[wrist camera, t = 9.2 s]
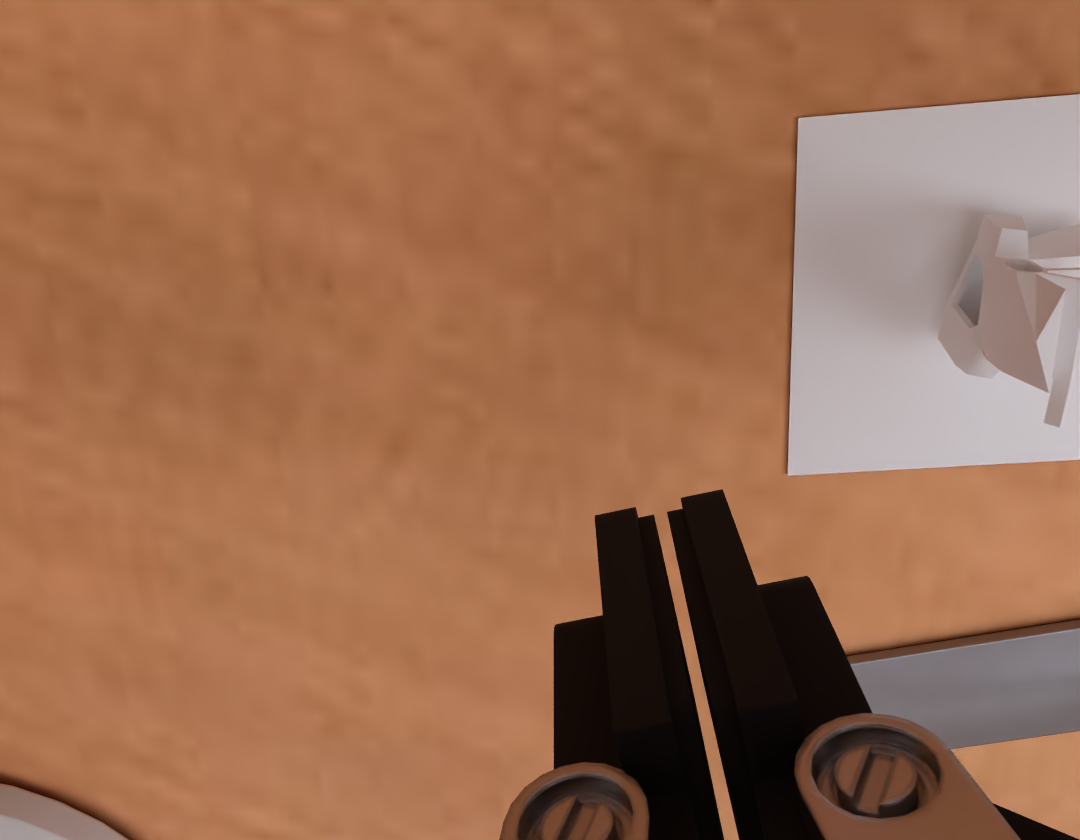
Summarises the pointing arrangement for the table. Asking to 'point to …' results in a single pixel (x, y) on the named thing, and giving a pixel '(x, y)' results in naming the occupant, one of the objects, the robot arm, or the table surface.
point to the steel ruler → (980, 684)
